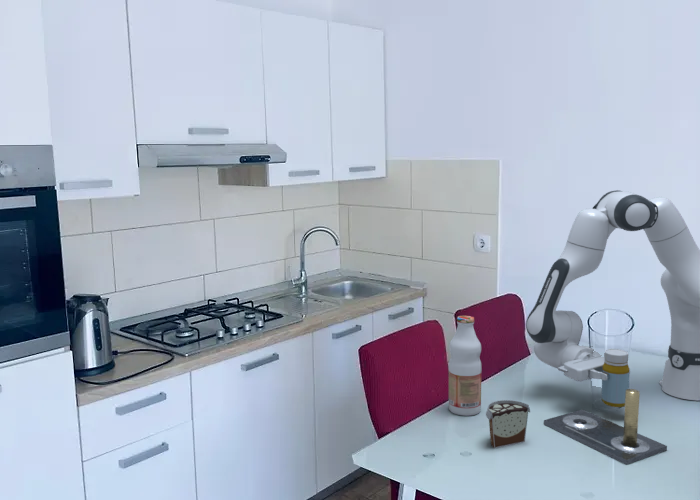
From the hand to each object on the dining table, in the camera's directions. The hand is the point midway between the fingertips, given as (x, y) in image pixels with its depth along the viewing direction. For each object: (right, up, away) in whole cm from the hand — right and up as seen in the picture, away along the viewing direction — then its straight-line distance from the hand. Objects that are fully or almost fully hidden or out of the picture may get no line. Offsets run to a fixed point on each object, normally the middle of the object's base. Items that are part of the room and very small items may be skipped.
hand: (618, 374), depth 180 cm
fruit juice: (-41, -12, +9) cm, 44 cm away
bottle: (0, -9, +2) cm, 9 cm away
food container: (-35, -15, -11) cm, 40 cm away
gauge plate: (-8, -14, -10) cm, 20 cm away
